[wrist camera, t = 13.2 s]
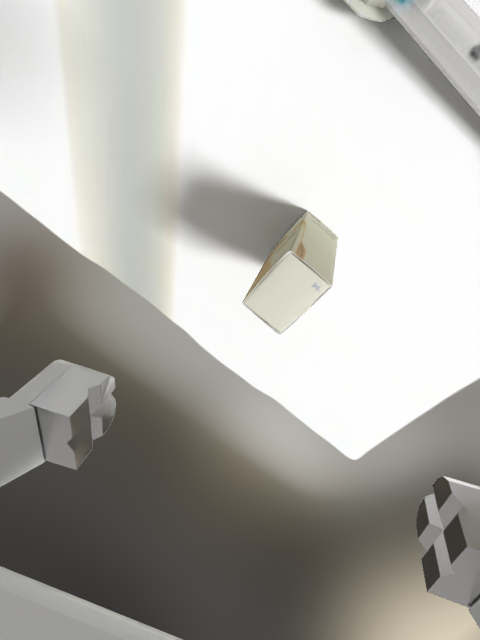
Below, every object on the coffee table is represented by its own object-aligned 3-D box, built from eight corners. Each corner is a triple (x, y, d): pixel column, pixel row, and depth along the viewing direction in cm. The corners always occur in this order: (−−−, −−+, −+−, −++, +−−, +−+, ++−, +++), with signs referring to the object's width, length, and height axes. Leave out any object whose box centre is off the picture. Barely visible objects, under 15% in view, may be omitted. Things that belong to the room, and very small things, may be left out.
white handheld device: (561, 215, 28) (322, -43, 22) (518, 192, 34) (318, -20, 28) (639, 158, 26) (392, -154, 19) (579, 143, 31) (372, -104, 25)
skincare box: (307, 208, 36) (291, 245, 26) (339, 237, 37) (337, 284, 26) (266, 255, 40) (238, 304, 29) (297, 280, 40) (280, 337, 30)
